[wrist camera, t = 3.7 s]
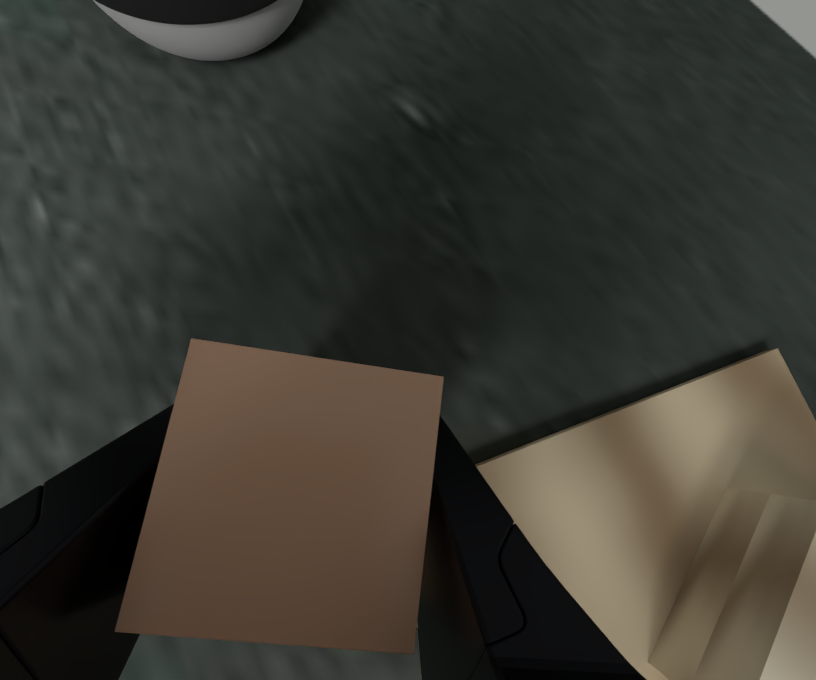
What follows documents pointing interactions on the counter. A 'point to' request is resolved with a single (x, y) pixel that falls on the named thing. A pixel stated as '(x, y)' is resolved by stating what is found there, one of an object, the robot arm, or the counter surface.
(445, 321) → the counter surface
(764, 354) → the beige square cloth
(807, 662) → the slab top
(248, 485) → the post
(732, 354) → the counter surface
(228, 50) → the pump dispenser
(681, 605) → the slab bottom
